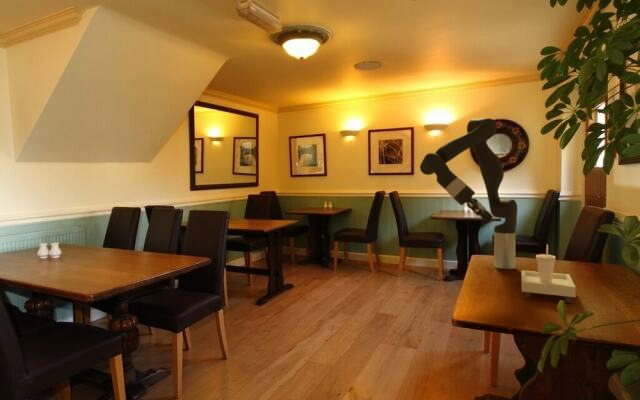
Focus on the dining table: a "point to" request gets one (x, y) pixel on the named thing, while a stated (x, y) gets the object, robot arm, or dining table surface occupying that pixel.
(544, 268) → the smoothie
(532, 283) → the cart
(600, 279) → the dining table surface
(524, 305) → the dining table surface
